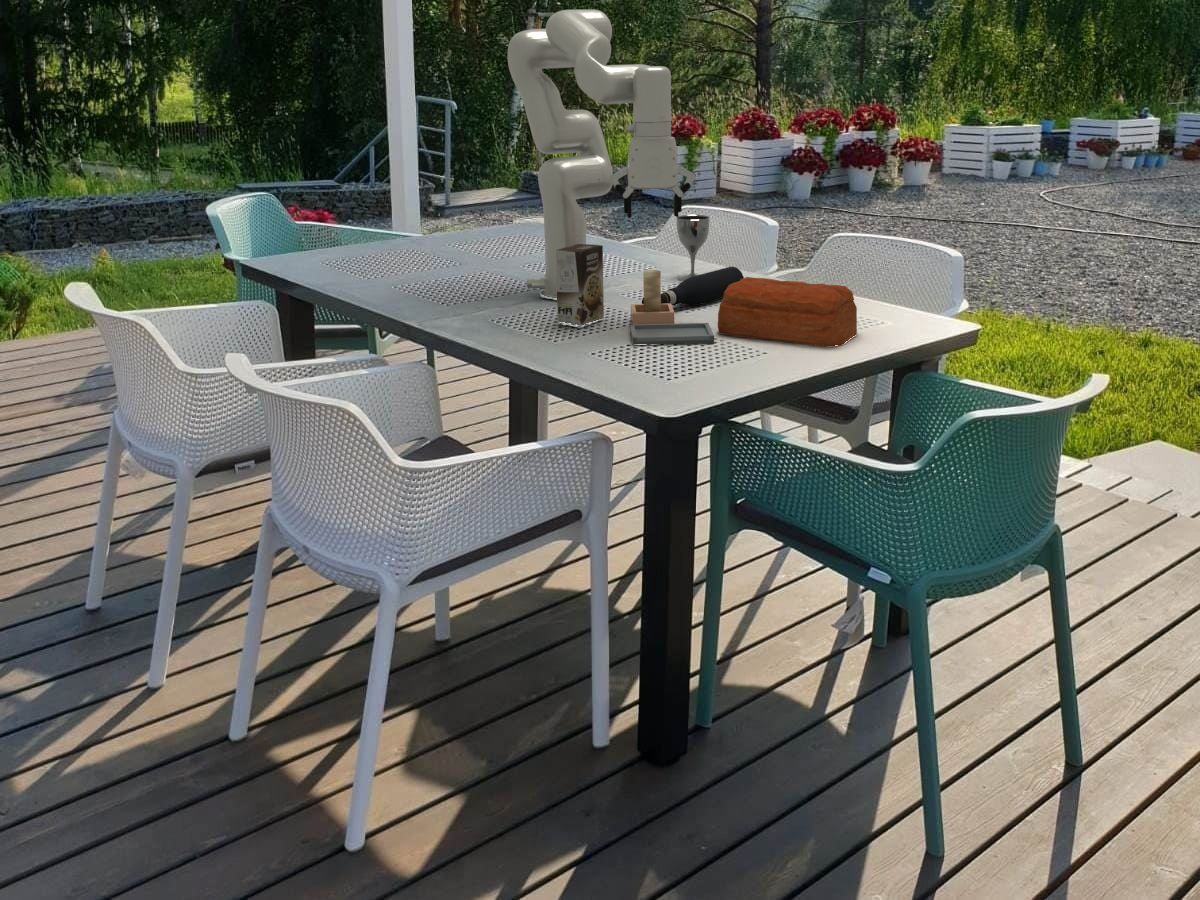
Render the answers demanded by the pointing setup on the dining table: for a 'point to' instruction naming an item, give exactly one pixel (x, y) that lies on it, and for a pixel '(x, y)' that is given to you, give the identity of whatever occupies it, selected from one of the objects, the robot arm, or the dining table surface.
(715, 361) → the dining table surface
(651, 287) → the dowel
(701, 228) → the wine glass
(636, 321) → the square copper frame
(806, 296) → the bread
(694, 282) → the wine bottle
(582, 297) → the coffee box
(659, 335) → the tray
